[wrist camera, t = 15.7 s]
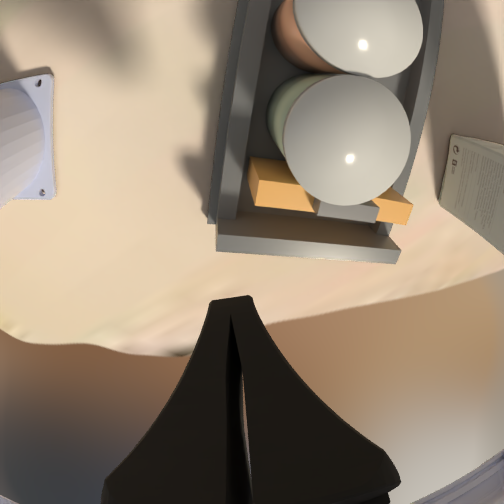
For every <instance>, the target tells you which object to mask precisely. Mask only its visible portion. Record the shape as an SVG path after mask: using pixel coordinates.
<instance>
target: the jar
mask: <svg viewBox="0 0 504 504" xmlns="http://www.w3.org/2000/svg"><path fill="white" fill-rule="evenodd" d="M271 34H272V38H273V41H274V44H275V46H276V48H277V49H278V51H279V52H280V54H281V55H282V56H283V57H284V58H285V59H286V60H287V61H288V62H289V63H291V64H292V65H293V66H295V67H297V68H299V69H301V70H303V71H306V72H310V73H315V74H350V75H355V76H362V77H368V78H383V77H389V76H392V75H395V74H397V73H400V72H401V71H403V70H404V69H406V68H407V67H408V66H409V65H410V64H411V63H412V62H413V61H414V60H415V58H416V57H417V55H418V53H419V50H420V48H421V44H422V40H423V24H422V18H421V14H420V11H419V8H418V6H417V4H416V2H415V0H284V1H283V2H282V3H281V4H280V5H279V6H278V8H277V9H276V11H275V13H274V15H273V17H272V21H271Z"/></svg>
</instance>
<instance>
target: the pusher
mask: <svg viewBox="0 0 504 504" xmlns="http://www.w3.org/2000/svg"><path fill="white" fill-rule="evenodd" d="M247 180H248V183H249V187H250V190H251V194H252V197H253V201H254V204H255V206H263V207H273V208H282V209H291V210H300V211H308V212H315V213H316V215H317V216H325V217H333V218H340V219H348V220H356V221H363V222H370V223H375V221H382V222H389V223H395V224H402V225H406V224H407V221H408V219H409V216H410V213H411V210H412V208H413V204H412V203H410V202H409V201H408V200H407V199H405V198H404V197H403V196H402V195H400V194H399V193H398V192H397V191H395V190H394V189H393V188H391V187H389V188H388V189H387V190H386V191H385V192H383V193H382V194H381V195H379V196H377V197H376V198H374V199H372V200H370V201H367V202H364V203H361V204H356V205H347V206H342V205H334V204H330V203H326V202H324V201H321V200H319V199H317V198H315V197H313V196H312V195H311V194H309V193H308V192H307V191H306V190H305V189H304V188H303V187H302V186H301V185H300V184H299V183H298V181H297V180H296V179H295V177H294V175H293V174H292V172H291V170H290V169H289V167H288V164H287V162H286V161H281V160H274V159H267V158H259V157H251V156H250V159H249V165H248V172H247Z"/></svg>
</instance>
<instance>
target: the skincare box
mask: <svg viewBox="0 0 504 504" xmlns="http://www.w3.org/2000/svg"><path fill="white" fill-rule="evenodd" d="M439 204H440V206H441V207H442V208H444V209H445V210H447V211H448V212H449V213H451V214H452V215H454V216H455V217H456V218H458V219H459V220H461V221H462V222H463V223H465V224H466V225H467V226H469V227H470V228H471V229H473V230H474V231H475V232H477V233H478V234H479V235H480V236H482V237H483V238H484V239H485V240H487V241H488V242H489V243H490V244H491V245H493V246H494V247H495V248H496V249H497V250H499V251H500V252H501V253H502V254H503V255H504V145H502V144H498V143H494V142H490V141H486V140H481V139H477V138H470V137H462V136H459V135H455V134H452V135H451V139H450V145H449V154H448V160H447V165H446V170H445V174H444V178H443V183H442V187H441V192H440V196H439Z"/></svg>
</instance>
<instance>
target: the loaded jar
mask: <svg viewBox="0 0 504 504" xmlns="http://www.w3.org/2000/svg"><path fill="white" fill-rule="evenodd" d="M266 124H267V128H268V131H269V134H270V136H271V138H272V139H273V141H274V142H275V144H276V145H277V147H278V148H279V150H280V151H281V153H282V154H283V156H284V157H285V160H286V162H287V164H288V167H289V169H290V170H291V172H292V174H293V175H294V177H295V179H296V180H297V181H298V183H299V184H300V185H301V186H302V187H303V188H304V189H305V190H306V191H307V192H308V193H309V194H311V195H312V196H313V197H315V198H317V199H319V200H321V201H324V202H326V203H330V204H334V205H342V206H347V205H356V204H361V203H364V202H367V201H370V200H372V199H374V198H376V197H377V196H379V195H381V194H382V193H383V192H385V191H386V190H387V189H388V188H389V187H390V186H391V185H392V184H393V183H394V182H395V181H396V180H397V178H398V177H399V175H400V174H401V172H402V170H403V168H404V167H405V164H406V162H407V159H408V155H409V151H410V144H411V133H410V125H409V121H408V118H407V115H406V112H405V110H404V108H403V106H402V105H401V103H400V102H399V100H398V99H397V97H396V96H395V95H394V94H393V93H392V92H391V91H390V90H389V89H387V88H386V87H385V86H383V85H382V84H380V83H379V82H376V81H374V80H372V79H369V78H366V77H362V76H355V75H335V76H334V75H324V74H311V73H308V74H300V75H296V76H293V77H291V78H289V79H287V80H286V81H284V82H283V83H281V84H280V85H279V86H278V87H277V88H276V90H275V91H274V92H273V94H272V95H271V97H270V99H269V102H268V105H267V109H266Z"/></svg>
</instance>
